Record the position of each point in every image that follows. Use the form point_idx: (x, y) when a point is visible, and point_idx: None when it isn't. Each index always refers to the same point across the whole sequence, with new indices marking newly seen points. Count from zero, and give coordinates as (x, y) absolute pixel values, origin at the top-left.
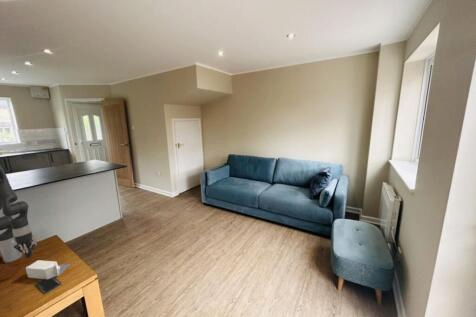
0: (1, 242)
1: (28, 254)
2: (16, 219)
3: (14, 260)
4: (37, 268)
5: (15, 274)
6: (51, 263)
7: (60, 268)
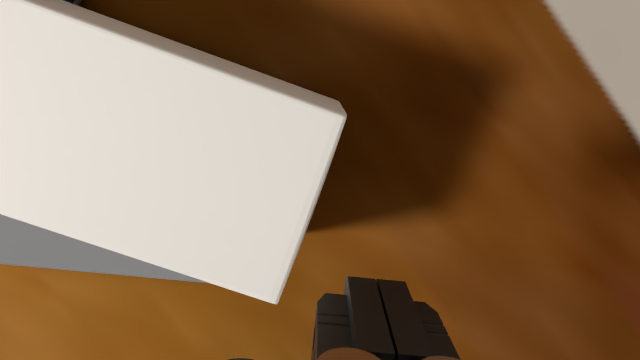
0: None
1: (349, 330)
2: None
3: None
4: (78, 31)
5: (577, 227)
6: None
7: None
